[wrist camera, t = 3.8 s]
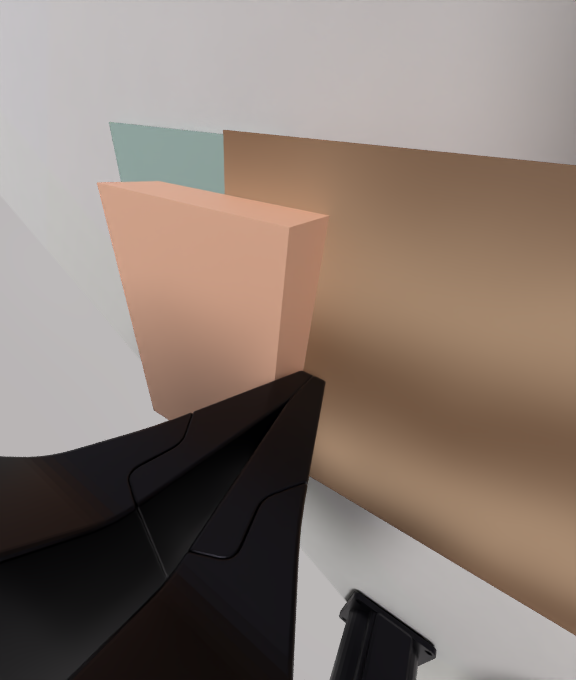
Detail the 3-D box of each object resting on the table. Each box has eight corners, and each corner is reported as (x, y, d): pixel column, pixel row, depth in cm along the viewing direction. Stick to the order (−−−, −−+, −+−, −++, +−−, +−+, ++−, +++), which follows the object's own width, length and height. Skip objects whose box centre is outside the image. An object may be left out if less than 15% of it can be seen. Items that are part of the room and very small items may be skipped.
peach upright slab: (291, 442, 12) (265, 481, 10) (187, 385, 14) (153, 410, 13) (329, 215, 7) (289, 227, 5) (159, 180, 9) (96, 182, 8)
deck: (551, 519, 12) (577, 636, 9) (273, 383, 17) (230, 428, 14) (968, 215, 5) (1671, 276, 2) (296, 142, 10) (223, 129, 7)
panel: (266, 380, 17) (263, 383, 17) (154, 325, 21) (151, 327, 21) (285, 141, 10) (280, 140, 10) (114, 122, 14) (108, 122, 14)
